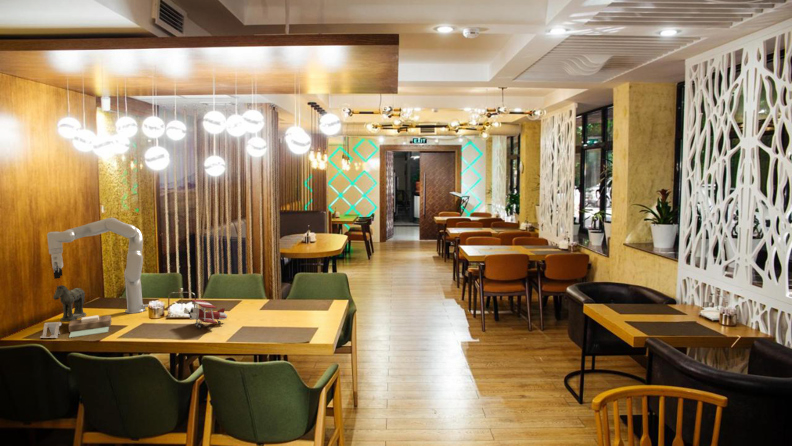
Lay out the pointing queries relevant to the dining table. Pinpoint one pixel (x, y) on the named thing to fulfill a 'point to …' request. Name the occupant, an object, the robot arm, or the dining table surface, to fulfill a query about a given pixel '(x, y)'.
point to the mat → (89, 332)
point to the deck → (90, 324)
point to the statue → (70, 302)
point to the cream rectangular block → (90, 319)
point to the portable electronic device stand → (51, 329)
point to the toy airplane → (205, 313)
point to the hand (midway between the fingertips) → (58, 277)
